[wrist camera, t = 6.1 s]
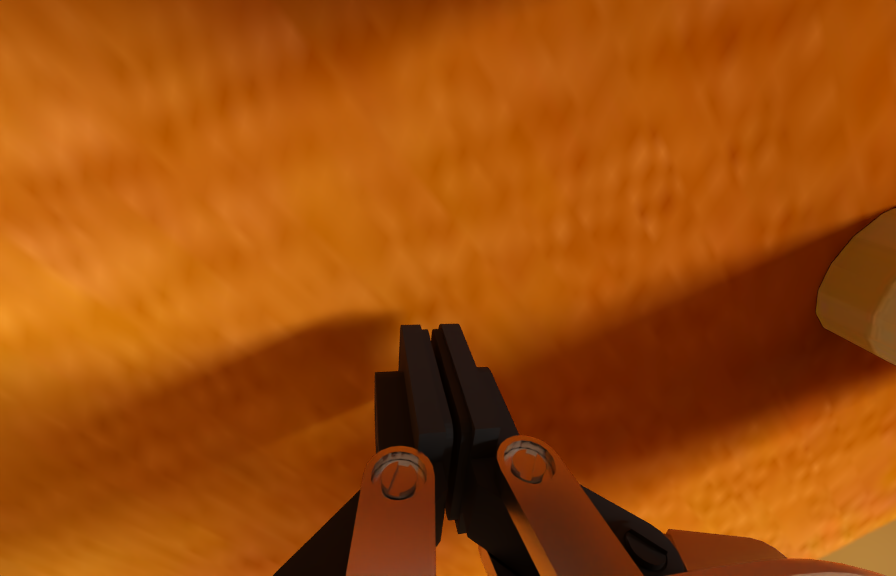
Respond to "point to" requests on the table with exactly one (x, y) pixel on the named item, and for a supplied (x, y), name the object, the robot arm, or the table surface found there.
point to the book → (864, 290)
